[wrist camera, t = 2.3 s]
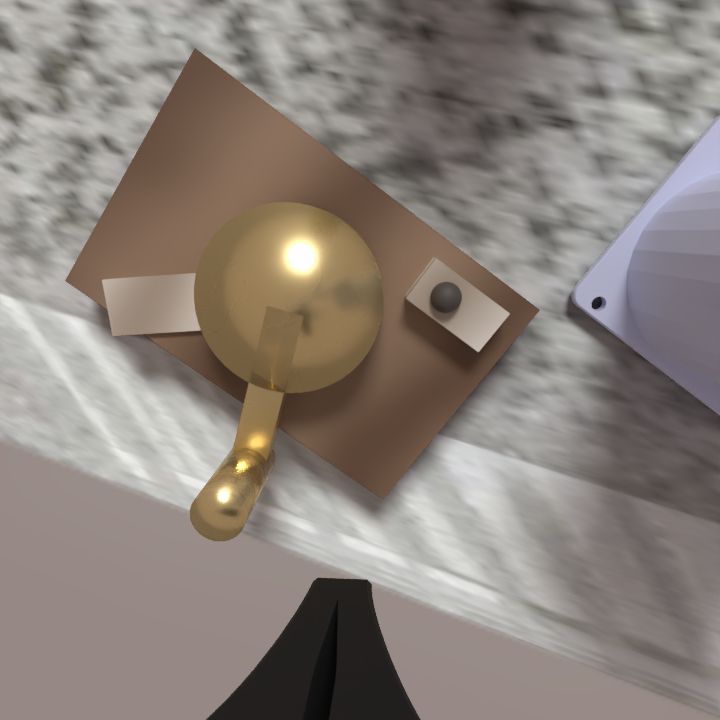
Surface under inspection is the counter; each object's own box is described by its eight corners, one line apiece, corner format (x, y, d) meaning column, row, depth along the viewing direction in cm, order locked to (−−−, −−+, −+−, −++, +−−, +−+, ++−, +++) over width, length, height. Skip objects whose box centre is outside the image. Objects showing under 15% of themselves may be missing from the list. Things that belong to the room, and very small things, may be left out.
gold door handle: (230, 182, 17) (174, 164, 12) (406, 233, 17) (411, 234, 12) (175, 448, 19) (111, 511, 15) (329, 492, 19) (311, 568, 15)
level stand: (524, 302, 19) (554, 317, 16) (374, 486, 22) (371, 534, 18) (215, 67, 18) (174, 28, 15) (89, 289, 20) (26, 301, 17)
